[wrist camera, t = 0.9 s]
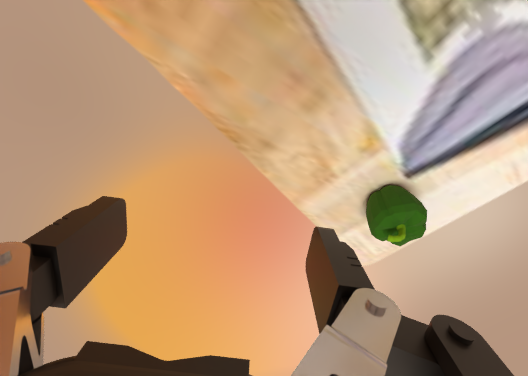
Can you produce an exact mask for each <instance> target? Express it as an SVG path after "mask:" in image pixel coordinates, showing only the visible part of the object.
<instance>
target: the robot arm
mask: <svg viewBox="0 0 528 376" xmlns="http://www.w3.org/2000/svg"><path fill="white" fill-rule="evenodd" d="M126 236H127V220H126V203H125V200H124V199H121V198H114V197H107V196H102V197H101V198H99V199H97V200H96V201H94V202H93V203H92V204H90V205H89V206H85V207H82V208H79V209H76V210H73V211H71V212H70V213H68V214H66V215H65V216H63V217H62V219H59V220H57V221H56V222H54V223H53V225H52V224H51V225H49V226H47V227H46V228H44V229H43V230H41V231H39V232H38V233H36V234H35V235H33V236H31V237H30V238H28V239H27V240H25V241H23V242H22V243H21V242H4V243H0V376H252V375H249V361H250V360H246V359H237V358H228V357H220V356H211V355H210V356H203V357H195V358H188V359H180V360H173V361H164V360H160V359H158V358H156V357H153V356H151V355H149V354H146V353H144V352H141V351H139V350H137V349H134V348H132V347H129V346H125V345H116V344H108V343H99V342H90V341H87V342H86V343H85V345H84V346H83V348H82V349H81V350H80V352H79V353H78V355H77V356H72V357H68V358H63V359H59V360H56V361H53V362H50V363H47V364H44V365H43V356H44V355H43V354H44V316H43V311H45V310H46V308H48V307H49V306H51V307H59V308H66V307H67V306H68V305H69V304H70V303H71V302H72V301H73V300H74V299H75V298H76V296H77V295H78V294H79V293H80V292H81V291H82V290H83V289H84V288H85V287H86V286H87V284H88V283H89V282H90V281H91V280H92V279H93V278H94V277H95V276H96V275H97V274H98V272H99V271H100V270H101V269H102V268H103V267H104V266H105V265H106V264H107V262H108V261H109V260H110V259H111V258H112V257H113V256H114V255H115V254H116V253H117V252H118V251H119V250H120V248H121V247H122V246H123V244H124V242H125V240H126ZM306 274H307V278H308V283H309V288H310V292H311V297H312V302H313V306H314V311H315V315H316V320H317V324H318V328H319V334H320V335H319V336H318V337H317V339H316V340H315V342H314V343H313V345H312V346H311V348H310V349H309V350H308V352H307V353H306V355H305V356H304V358H303V359H302V361H301V362H300V364H299V365H298V366H297V368H296V369H295V371H294V372H293V374H292V375H291V376H514V375H513V374H512V373H511V372H510V370H509V369H508V368H507V367H506V365H505V364H504V363H503V362H502V360H501V359H500V358H499V357H498V355H497V354H496V353H495V352H494V351H493V350H492V348H491V347H490V346H489V345H488V343H487V342H486V341H485V340H484V339H483V337H482V336H481V335H480V334H479V333H478V332H476V331H475V330H474V329H473V328H471V327H470V326H468V325H467V324H465V323H464V322H462V321H460V320H458V319H455V318H453V317H450V316H446V315H436V316H434V317H433V318H432V320H431V322H430V324H429V325H426V324H424V323H421V322H418V321H416V320H413V319H410V318H407V317H405V316H402V315H401V312H400V309H399V308H398V306H397V305H396V304H395V302H394V301H393V300H391V299H390V298H389V297H388V296H386V295H385V294H383V293H381V292H379V291H376V290H375V289H374V287H373V286H372V284H371V282H370V280H369V278H368V276H367V274H366V272H365V271H364V269H363V267H362V265H361V263H360V261H359V260H358V258H357V256H356V254H355V252H354V250H353V249H352V248H350V247H349V246H348V245H347V244H346V243H345V242H340V241H339V239H338V237H337V235H336V233H335V231H334V229H329V228H322V227H315V228H314V231H313V234H312V238H311V243H310V246H309V250H308V254H307V258H306Z"/></svg>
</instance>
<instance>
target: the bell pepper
mask: <svg viewBox="0 0 528 376" xmlns="http://www.w3.org/2000/svg"><path fill="white" fill-rule="evenodd" d="M366 217H367V221H368V225H369V228H370V231H371V234H372V235H373V236H374V237H375V238H377V239H379V240H381V241H385V240H387V241H390V242H391V243H392V244H395V245H398V246H401V245H403V244H405V243H407V242H409V241H411V240H414V239H417V238H421V237H422V236H423V234H424V232H425V230H426V224H425V223H426V220H427V210H426V209H425V207H424V206H423V204H422V203H421V202H420V201H419V200H418V199H417V198H416V197H415V196H414V195H412V194H411V193H410V192H408V191H407V190H405V189H404V188H402V187H400V186H392V185H388V186H386V187H383V188H382V189H381V190H380V191H376V192H374V193H373V194H371V196H370V198H369V200H368V202H367V207H366Z"/></svg>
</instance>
